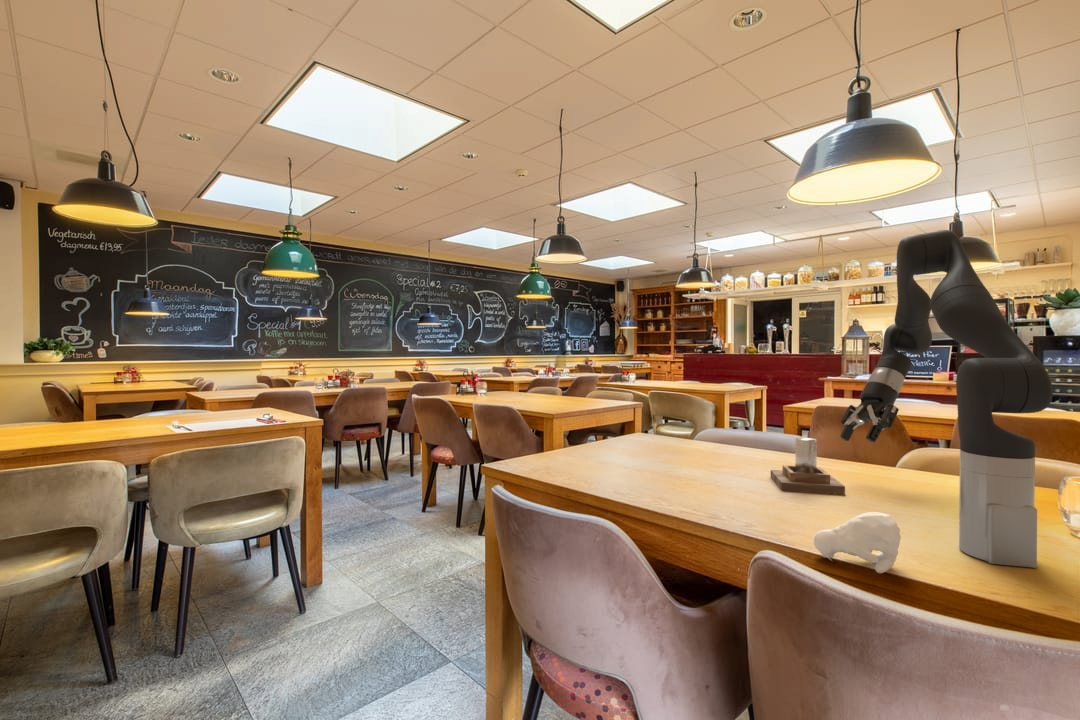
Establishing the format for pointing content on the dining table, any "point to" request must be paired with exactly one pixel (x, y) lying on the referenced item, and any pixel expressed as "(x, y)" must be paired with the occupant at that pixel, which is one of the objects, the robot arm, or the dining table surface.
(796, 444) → the steel canister
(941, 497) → the dining table surface
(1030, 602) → the dining table surface
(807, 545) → the dining table surface
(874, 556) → the white animal figurine
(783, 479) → the plate
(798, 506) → the dining table surface
